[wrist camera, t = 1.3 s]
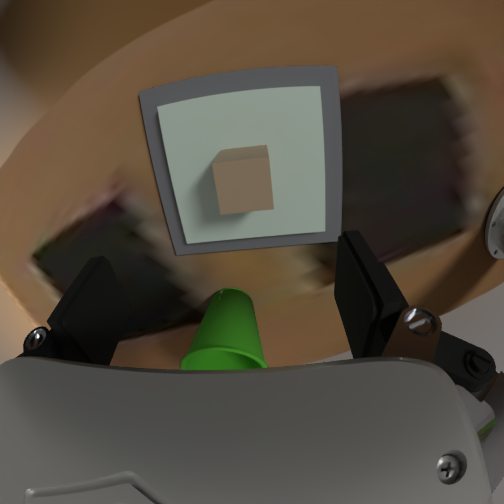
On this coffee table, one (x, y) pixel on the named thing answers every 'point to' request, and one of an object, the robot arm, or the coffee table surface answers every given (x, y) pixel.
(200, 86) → the mat
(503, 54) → the coffee table surface
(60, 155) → the coffee table surface
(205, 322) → the cup
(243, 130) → the lid
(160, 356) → the coffee table surface
